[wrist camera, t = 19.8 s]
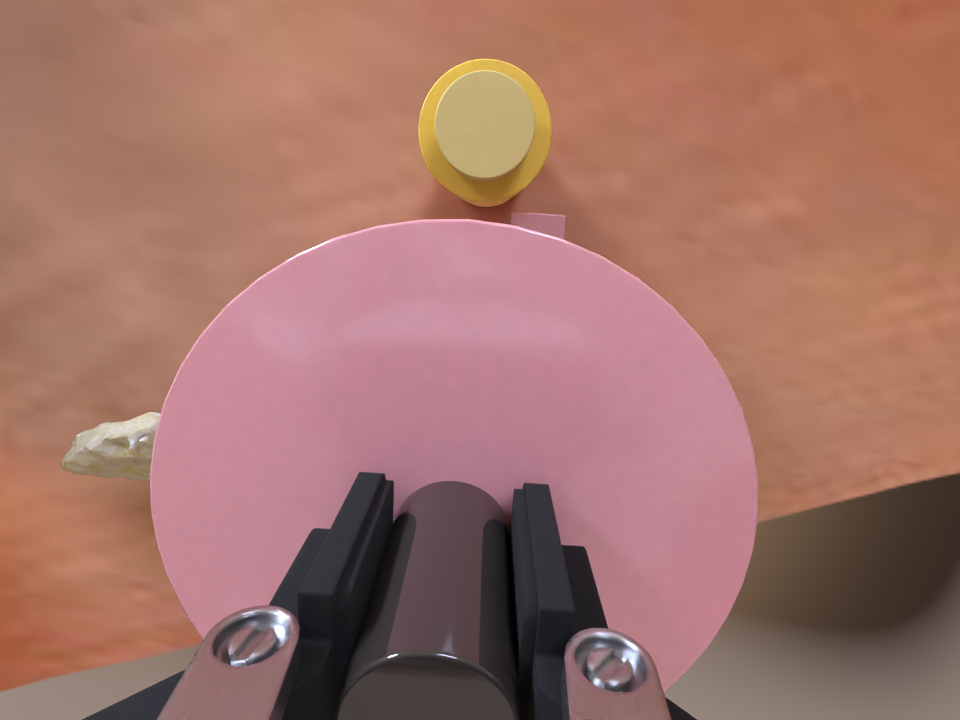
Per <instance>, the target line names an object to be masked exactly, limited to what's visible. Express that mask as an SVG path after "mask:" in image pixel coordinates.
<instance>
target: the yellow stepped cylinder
mask: <svg viewBox="0 0 960 720" xmlns="http://www.w3.org/2000/svg"><path fill="white" fill-rule="evenodd" d="M551 138H552V123H551V116H550V111H549V108H548V105H547V102H546V100H545V98H544V96H543V94H542V92H541V90H540V89H539V87H538V86H537V84H536V83H535V82H534V81H533V80H532V79H531V77H529V76H528V75H527V74H526V73H525V72H524V71H522V70H520V69H519V68H517V67H516V66H514V65H512V64H509V63H507V62H504V61H500V60H495V59H476V60H471V61H468V62H464V63H462V64H460V65H457V66H455V67H454V68H452V69H451V70H449V71H447V72H446V73H445V74H444V75H443V76H442V77H440V79H439V80H438V81H437V82H436V83H435V84H434V86H433V87H432V88H431V90H430V91H429V93H428V95H427V97H426V99H425V101H424V104H423V107H422V110H421V114H420V119H419V142H420V148H421V152H422V155H423V158H424V160H425V163H426V165H427V167H428V168H429V170H430V172H431V173H432V175H433V176H434V177H435V179H436V180H437V181H438V182H439V183H440V184H441V185H442V186H443V187H445V188H446V189H447V190H448V191H450V192H451V193H453V194H455V195H456V196H458V197H460V198H461V199H463V200H465V201H466V202H468V203H470V204H473V205H476V206H481V207H492V206H497V205H500V204H503V203H505V202H506V201H508V200H510V199H511V198H512V197H514V196H515V195H516V194H518V193H519V192H520V191H522V190H523V189H524V188H525V187H527V186H528V185H529V184H530V183H531V182H532V181H533V180H534V179H535V177H536V176H537V175H538V173H539V172H540V170H541V169H542V167H543V165H544V163H545V161H546V158H547V156H548V153H549V149H550V145H551Z"/></svg>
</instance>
